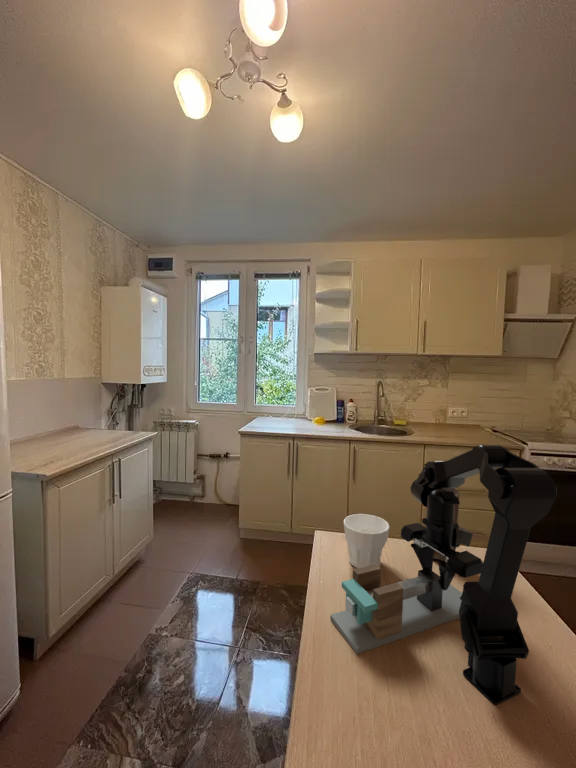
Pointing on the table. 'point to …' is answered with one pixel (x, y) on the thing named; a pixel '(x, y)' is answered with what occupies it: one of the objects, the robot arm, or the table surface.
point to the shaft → (414, 591)
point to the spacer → (360, 600)
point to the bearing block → (381, 602)
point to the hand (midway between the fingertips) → (436, 583)
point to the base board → (412, 621)
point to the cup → (365, 538)
